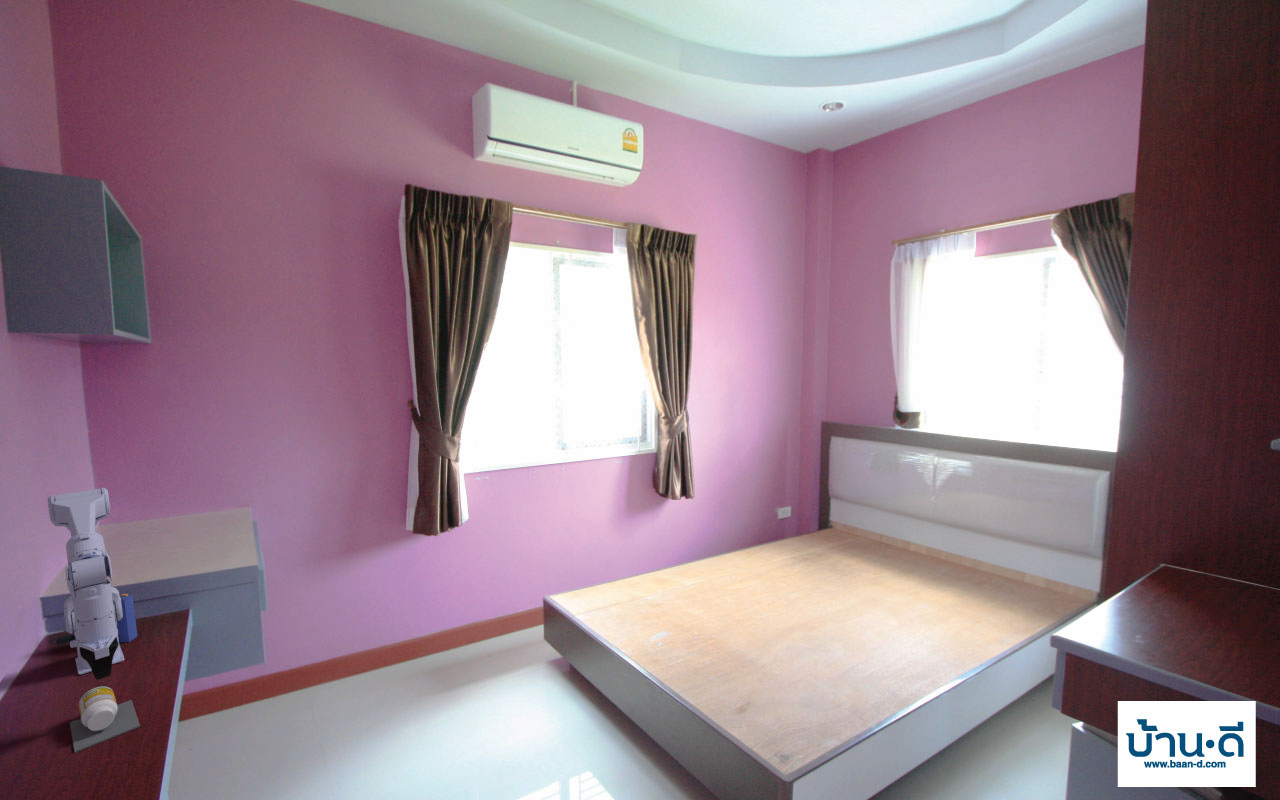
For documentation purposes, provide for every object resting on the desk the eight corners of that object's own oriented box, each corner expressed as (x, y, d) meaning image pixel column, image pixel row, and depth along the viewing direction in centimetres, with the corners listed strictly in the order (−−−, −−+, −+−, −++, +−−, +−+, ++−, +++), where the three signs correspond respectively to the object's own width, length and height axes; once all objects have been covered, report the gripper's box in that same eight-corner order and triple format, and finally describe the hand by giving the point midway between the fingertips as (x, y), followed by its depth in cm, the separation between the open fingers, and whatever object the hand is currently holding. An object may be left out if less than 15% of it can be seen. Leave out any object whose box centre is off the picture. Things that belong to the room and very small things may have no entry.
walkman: (137, 636, 148) (132, 593, 146) (129, 642, 145) (123, 598, 144) (105, 637, 147) (99, 594, 146) (96, 643, 144) (90, 599, 143)
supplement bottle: (104, 713, 120) (109, 735, 113) (72, 711, 116) (75, 734, 109) (119, 686, 121) (125, 707, 115) (88, 684, 117) (93, 705, 111)
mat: (70, 723, 115) (69, 722, 115) (131, 701, 122) (131, 699, 122) (74, 752, 107) (74, 751, 107) (140, 726, 114) (140, 725, 114)
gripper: (64, 610, 116) (73, 671, 118) (69, 635, 107) (78, 701, 108) (111, 598, 121) (118, 656, 123) (119, 621, 112) (127, 684, 114)
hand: (103, 676), depth 116 cm, fingers closed
